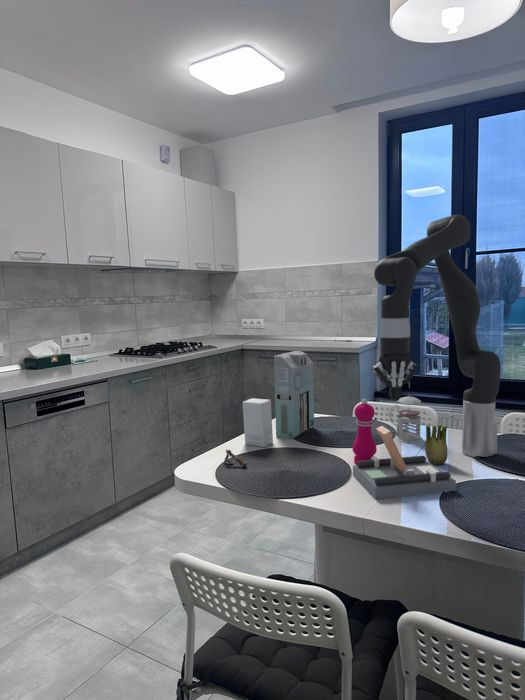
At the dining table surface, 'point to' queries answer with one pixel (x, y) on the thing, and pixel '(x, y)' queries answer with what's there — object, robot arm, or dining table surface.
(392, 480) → the pair of dark bars
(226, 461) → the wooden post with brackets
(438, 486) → the panel
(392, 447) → the lever
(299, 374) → the device
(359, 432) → the pepper mill
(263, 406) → the skincare box
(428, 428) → the fennel bulb
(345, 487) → the dining table surface
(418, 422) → the french press
